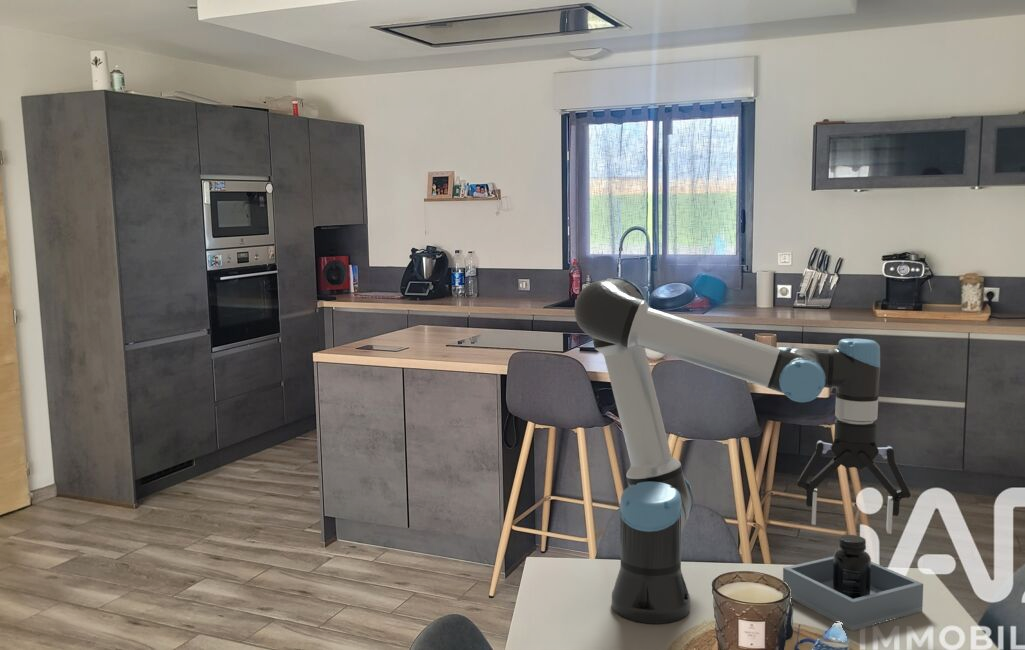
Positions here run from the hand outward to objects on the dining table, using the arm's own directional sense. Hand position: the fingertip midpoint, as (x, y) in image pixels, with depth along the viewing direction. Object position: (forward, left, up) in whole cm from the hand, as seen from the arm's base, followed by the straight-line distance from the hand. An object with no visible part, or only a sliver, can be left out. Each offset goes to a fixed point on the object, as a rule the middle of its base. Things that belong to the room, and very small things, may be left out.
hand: (850, 527), depth 166 cm
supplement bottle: (0, 0, -15) cm, 14 cm away
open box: (0, 0, -15) cm, 15 cm away
